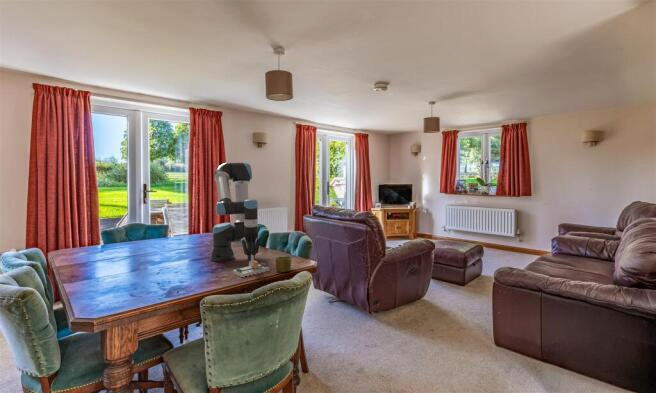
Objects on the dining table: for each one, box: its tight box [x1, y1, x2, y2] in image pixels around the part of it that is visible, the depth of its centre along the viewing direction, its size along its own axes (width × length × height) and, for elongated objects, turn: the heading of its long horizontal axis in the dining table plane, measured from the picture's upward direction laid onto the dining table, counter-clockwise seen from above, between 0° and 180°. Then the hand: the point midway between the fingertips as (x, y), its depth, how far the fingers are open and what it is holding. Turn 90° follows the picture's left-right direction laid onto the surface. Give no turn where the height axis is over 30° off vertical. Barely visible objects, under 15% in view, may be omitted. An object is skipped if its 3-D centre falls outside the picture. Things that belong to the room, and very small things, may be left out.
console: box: [232, 262, 270, 278], centre depth 187 cm, size 10×18×4 cm, turn 133°
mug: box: [275, 255, 292, 273], centre depth 192 cm, size 12×10×10 cm
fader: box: [252, 259, 259, 269], centre depth 189 cm, size 4×2×4 cm, turn 43°
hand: (251, 265), depth 187 cm, fingers closed
